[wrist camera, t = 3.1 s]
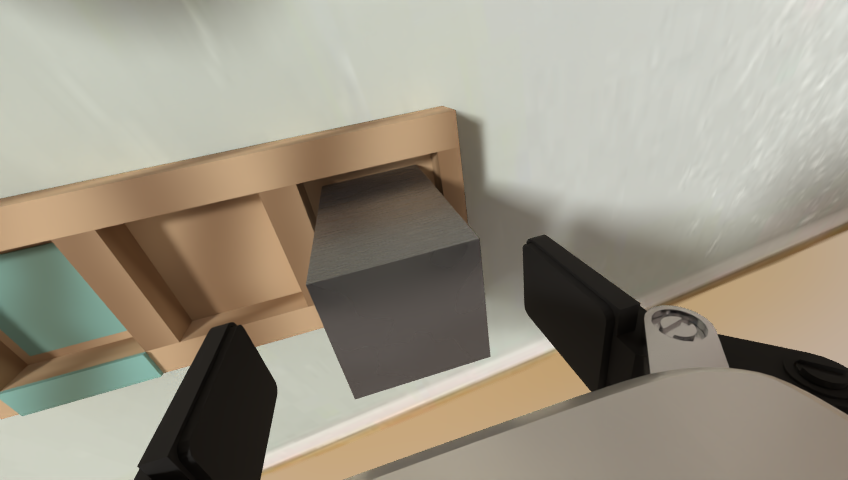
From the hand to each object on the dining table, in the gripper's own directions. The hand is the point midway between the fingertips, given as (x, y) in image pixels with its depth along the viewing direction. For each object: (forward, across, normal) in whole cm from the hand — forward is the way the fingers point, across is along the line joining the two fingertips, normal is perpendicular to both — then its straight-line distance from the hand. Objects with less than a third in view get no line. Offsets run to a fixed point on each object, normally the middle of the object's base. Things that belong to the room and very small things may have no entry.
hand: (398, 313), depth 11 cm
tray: (+7, +7, -1) cm, 10 cm away
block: (+7, 0, -1) cm, 7 cm away
